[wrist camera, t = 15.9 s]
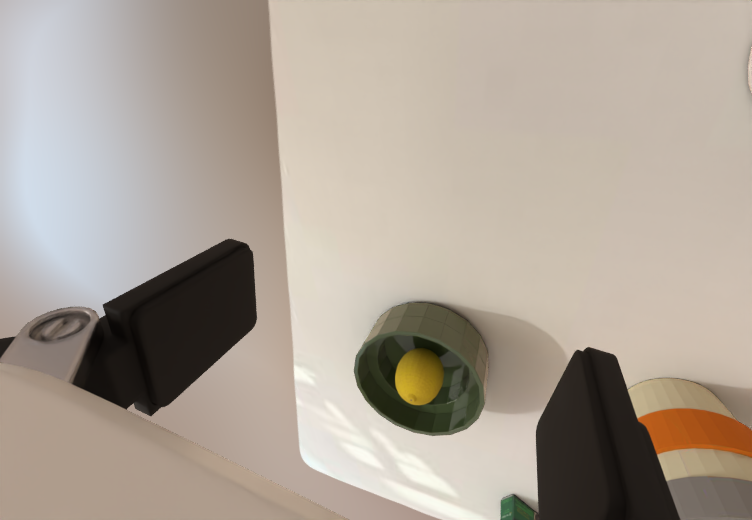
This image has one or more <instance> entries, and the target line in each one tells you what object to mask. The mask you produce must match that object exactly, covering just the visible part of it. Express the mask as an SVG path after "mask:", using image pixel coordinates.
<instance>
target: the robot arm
mask: <svg viewBox="0 0 752 520" xmlns="http://www.w3.org/2000/svg"><path fill="white" fill-rule="evenodd" d="M748 84H749V87H750V91H751V94H752V47H751V52H750V58H749V63H748ZM103 308H104V311H105V314H106V315H105V316H103V317H101V318H100V319H99V316H98V315H97V313H96V311H94V310H92V309H90V308H86V307H68V308H61V309H57V310H54V311H50V312H47V313H45V314H43V315H41V316H39V317H36V318H35V319H33V320H32V321H30V322H28V323H27V324H26V325H25V326H24V327H23V328H22V329H21V331H20V332H19V333H18V335H17V336H16V337H9V338H3V339H0V520H349V519H347V518H345V517H343V516H341V515H339V514H337V513H335V512H333V511H331V510H329V509H327V508H325V507H323V506H321V505H319V504H317V503H314V502H313V501H311V500H309V499H306V498H305V497H303V496H300V495H299V494H297V493H295V492H293V491H291V490H288V489H287V488H284V487H283V486H281V485H279V484H276V483H274V482H272V481H270V480H268V479H266V478H264V477H262V476H260V475H258V474H256V473H254V472H252V471H250V470H248V469H246V468H244V467H242V466H240V465H238V464H236V463H234V462H232V461H230V460H228V459H226V458H224V457H222V456H220V455H218V454H216V453H214V452H212V451H210V450H208V449H206V448H204V447H201V446H200V445H198V444H196V443H194V442H191V441H189V440H187V439H185V438H183V437H181V436H179V435H177V434H175V433H173V432H171V431H169V430H167V429H165V428H163V427H161V426H159V425H157V424H155V423H152V422H151V421H148V420H146V419H144V418H142V417H140V416H138V415H136V414H134V413H132V412H130V411H128V410H127V408H128V407H129V406H130V405H132V404H133V403H134V405H135V408H136V409H137V410H139V411H141V412H143V413H145V414H147V415H149V416H152V415H153V414H154V413H155V412H156V411H158V409H159V408H161V407H165V406H167V405H169V404H170V403H171V402H172V401H174V399H176V398H177V397H178V396H179V395H180V394H181V393H182V392H183V391H184V390H185V389H187V388H188V387H189V386H190V385H191V384H192V383H193V382H194V381H195V380H196V379H198V378H199V377H200V376H201V375H202V374H203V373H204V372H205V371H207V370H208V369H209V368H210V367H211V366H212V365H213V364H214V363H215V362H216V361H218V359H220V358H221V357H222V356H223V355H224V354H225V353H226V352H227V351H228V350H230V349H231V348H232V347H233V346H234V345H235V344H236V343H237V342H238V341H240V339H242V338H243V337H244V336H245V335H246V334H247V333H248V332H250V331H251V330H252V329H253V327H254V326H255V324H256V320H257V313H256V296H255V279H254V262H253V252H252V251H251V250H250V248H249V246H248V245H247V244H246V243H243V242H240V241H236V240H233V239H227V240H225V241H223V242H221V243H219V244H217V245H215V246H213V247H211V248H210V249H208V250H206V251H204V252H202V253H200V254H198V255H196V256H194V257H193V258H191V259H189V260H187V261H185V262H183V263H181V264H179V265H177V266H175V267H173V268H172V269H170V270H168V271H166V272H164V273H162V274H160V275H158V276H157V277H154V278H153V279H151V280H149V281H147V282H145V283H143V284H141V285H139V286H138V287H136V288H134V289H132V290H130V291H128V292H126V293H124V294H122V295H120V296H119V297H117V298H115V299H113V300H111V301H109V302H107V303H105V304H103ZM536 452H537V480H538V507H539V520H680V517H679V514H678V512H677V509H676V506H675V503H674V500H673V498H672V495H671V492H670V489H669V487H668V484H667V481H666V478H665V476H664V473H663V470H662V467H661V464H660V462H659V459H658V456H657V453H656V451H655V448H654V445H653V442H652V439H651V437H650V434H649V432H648V430H647V428H646V426H645V425H644V424H643V423H641V422H638V419H637V416H636V413H635V410H634V407H633V404H632V401H631V398H630V395H629V393H628V390H627V387H626V384H625V381H624V378H623V375H622V372H621V369H620V366H619V363H618V360H617V358H616V356H615V355H613V354H610V353H607V352H603V351H600V350H597V349H593V348H590V347H587V348H586V349H585V350H584V351H579V350H576V351H575V353H574V354H573V356H572V358H571V360H570V362H569V364H568V366H567V368H566V370H565V371H564V373H563V375H562V377H561V379H560V381H559V383H558V385H557V387H556V389H555V391H554V393H553V395H552V396H551V398H550V400H549V402H548V404H547V406H546V408H545V410H544V412H543V414H542V416H541V418H540V420H539V422H538V425H537V429H536Z"/></svg>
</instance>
